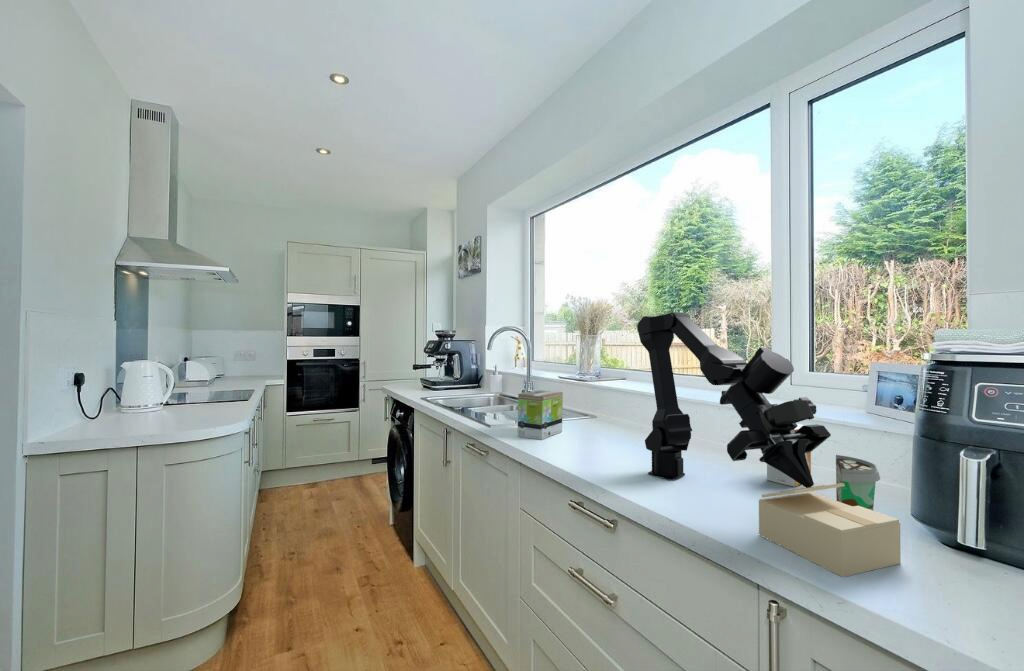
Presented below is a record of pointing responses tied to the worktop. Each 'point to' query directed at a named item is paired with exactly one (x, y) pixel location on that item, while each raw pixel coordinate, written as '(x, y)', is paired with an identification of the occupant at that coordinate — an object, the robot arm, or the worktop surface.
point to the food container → (856, 481)
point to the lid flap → (802, 490)
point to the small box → (781, 477)
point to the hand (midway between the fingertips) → (810, 486)
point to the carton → (831, 532)
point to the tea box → (540, 414)
